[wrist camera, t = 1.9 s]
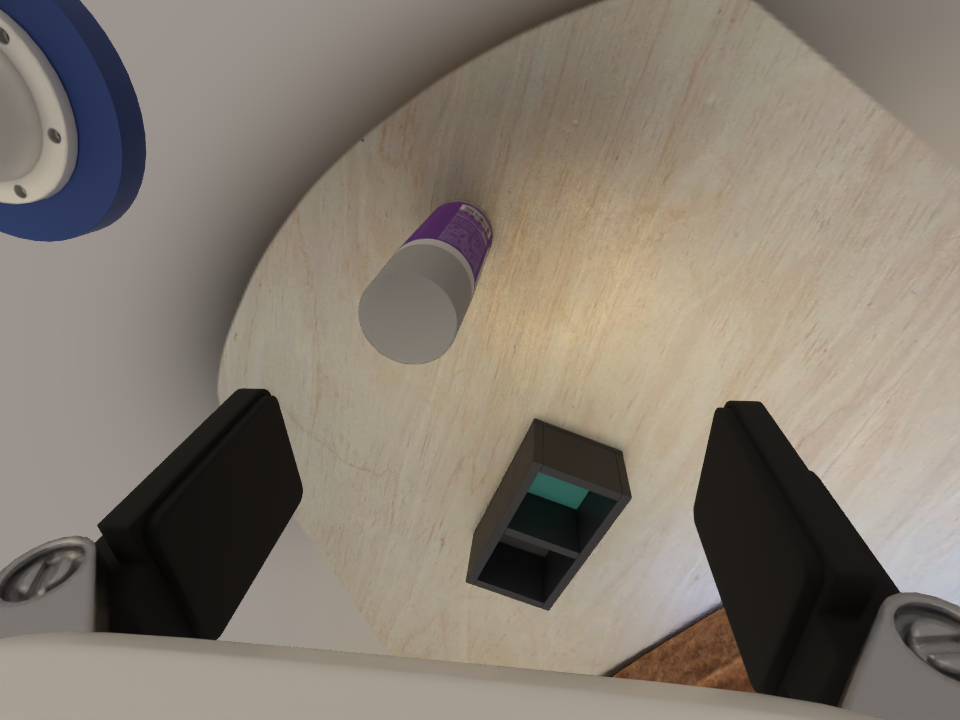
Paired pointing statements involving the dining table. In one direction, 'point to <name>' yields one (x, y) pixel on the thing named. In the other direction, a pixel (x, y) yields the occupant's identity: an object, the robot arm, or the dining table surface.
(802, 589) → the robot arm
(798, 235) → the dining table surface
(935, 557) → the dining table surface
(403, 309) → the container
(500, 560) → the dark grey divided box
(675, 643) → the bread
